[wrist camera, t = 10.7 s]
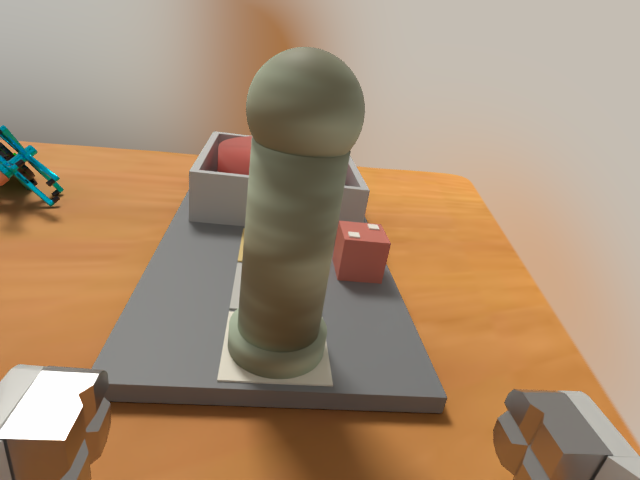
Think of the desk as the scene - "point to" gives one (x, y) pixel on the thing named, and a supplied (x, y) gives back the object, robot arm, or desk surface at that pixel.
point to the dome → (234, 155)
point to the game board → (223, 299)
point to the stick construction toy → (24, 167)
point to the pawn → (293, 208)
